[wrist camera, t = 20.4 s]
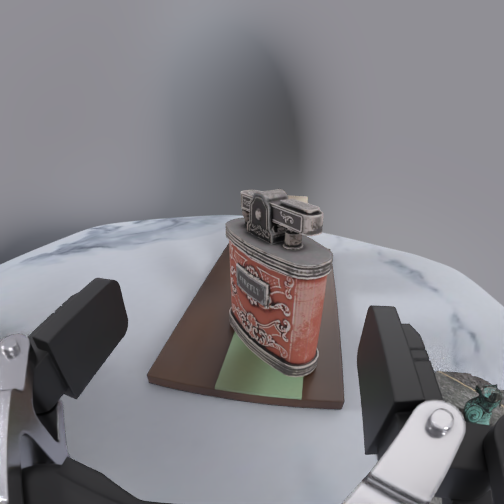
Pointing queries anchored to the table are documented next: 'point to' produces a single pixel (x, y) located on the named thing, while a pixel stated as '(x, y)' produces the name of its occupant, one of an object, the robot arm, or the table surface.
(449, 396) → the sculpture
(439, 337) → the table surface
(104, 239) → the table surface
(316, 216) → the lighter
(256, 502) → the table surface
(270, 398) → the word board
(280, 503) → the table surface
